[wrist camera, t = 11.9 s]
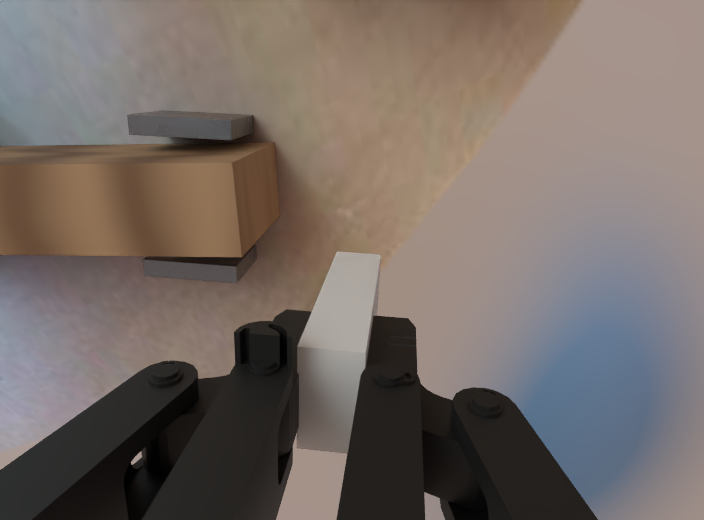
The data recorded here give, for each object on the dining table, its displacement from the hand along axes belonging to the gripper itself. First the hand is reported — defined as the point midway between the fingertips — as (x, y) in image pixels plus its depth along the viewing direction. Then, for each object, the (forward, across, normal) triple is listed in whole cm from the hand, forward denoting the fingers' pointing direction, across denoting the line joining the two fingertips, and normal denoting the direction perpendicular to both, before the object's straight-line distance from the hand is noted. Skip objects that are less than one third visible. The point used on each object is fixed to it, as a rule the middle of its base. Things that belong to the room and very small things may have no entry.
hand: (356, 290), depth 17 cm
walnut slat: (+14, -17, 0) cm, 22 cm away
